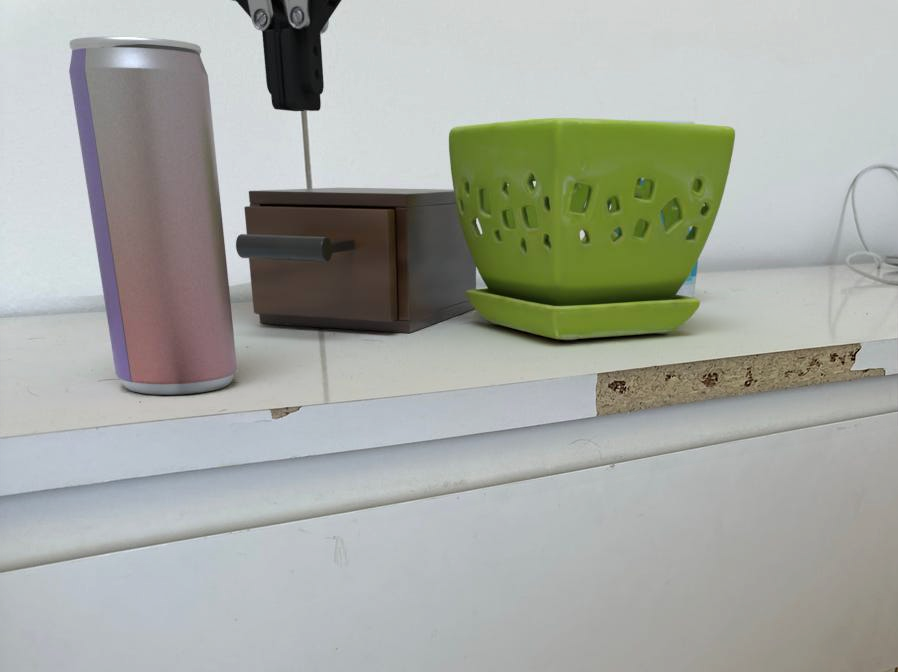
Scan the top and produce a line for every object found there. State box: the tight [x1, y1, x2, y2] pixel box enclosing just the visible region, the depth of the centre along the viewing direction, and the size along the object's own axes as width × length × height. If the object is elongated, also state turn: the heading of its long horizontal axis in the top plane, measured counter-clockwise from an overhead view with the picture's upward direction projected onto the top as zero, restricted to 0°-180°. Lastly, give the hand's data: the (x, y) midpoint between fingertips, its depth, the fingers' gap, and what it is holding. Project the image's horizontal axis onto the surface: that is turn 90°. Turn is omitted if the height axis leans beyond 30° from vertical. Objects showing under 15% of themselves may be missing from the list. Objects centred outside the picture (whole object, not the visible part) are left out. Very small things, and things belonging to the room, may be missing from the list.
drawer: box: [235, 205, 399, 322], centre depth 67 cm, size 17×10×7 cm, turn 161°
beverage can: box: [68, 36, 238, 396], centre depth 47 cm, size 6×6×15 cm
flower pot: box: [448, 117, 736, 341], centre depth 65 cm, size 14×14×13 cm
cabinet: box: [248, 187, 477, 334], centre depth 71 cm, size 14×12×9 cm
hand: (297, 109), depth 58 cm, fingers closed
